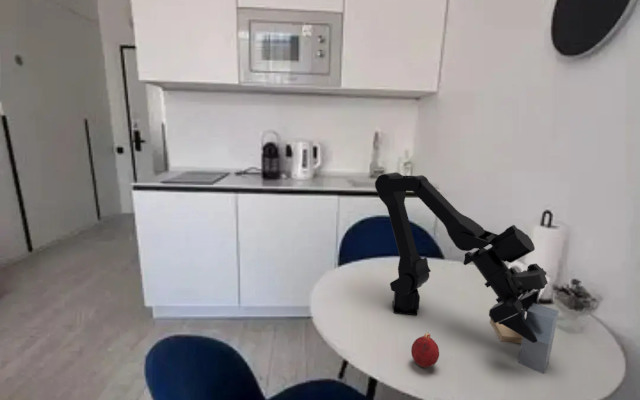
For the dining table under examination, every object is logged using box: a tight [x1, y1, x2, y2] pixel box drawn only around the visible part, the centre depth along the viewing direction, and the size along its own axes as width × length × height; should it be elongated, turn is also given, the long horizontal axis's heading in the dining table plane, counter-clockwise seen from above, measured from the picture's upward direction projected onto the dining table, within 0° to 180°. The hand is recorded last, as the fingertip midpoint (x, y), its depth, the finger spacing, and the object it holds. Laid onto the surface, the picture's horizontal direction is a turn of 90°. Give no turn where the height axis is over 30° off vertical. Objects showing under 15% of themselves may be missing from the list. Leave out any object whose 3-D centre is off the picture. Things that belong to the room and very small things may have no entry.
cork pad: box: [489, 318, 523, 344], centre depth 95 cm, size 9×9×2 cm
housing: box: [517, 303, 560, 374], centre depth 82 cm, size 5×5×13 cm
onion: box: [410, 332, 440, 368], centre depth 80 cm, size 6×6×8 cm
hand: (541, 333), depth 82 cm, fingers open, 9 cm apart
